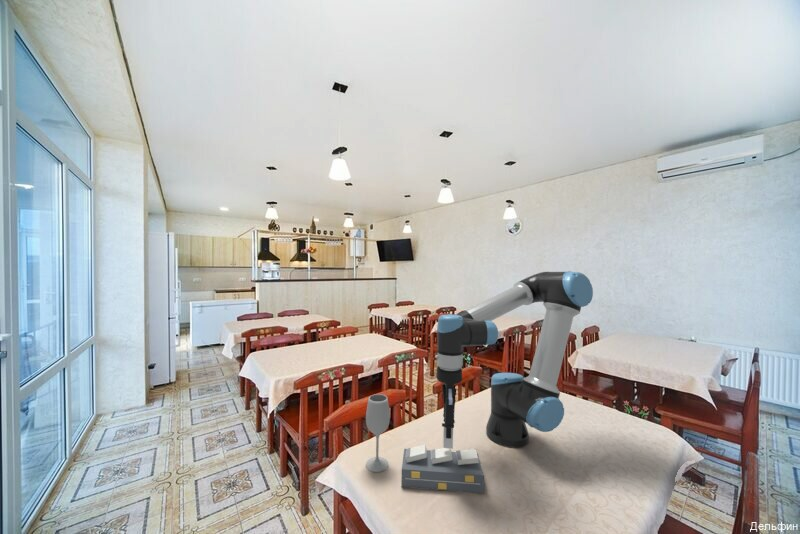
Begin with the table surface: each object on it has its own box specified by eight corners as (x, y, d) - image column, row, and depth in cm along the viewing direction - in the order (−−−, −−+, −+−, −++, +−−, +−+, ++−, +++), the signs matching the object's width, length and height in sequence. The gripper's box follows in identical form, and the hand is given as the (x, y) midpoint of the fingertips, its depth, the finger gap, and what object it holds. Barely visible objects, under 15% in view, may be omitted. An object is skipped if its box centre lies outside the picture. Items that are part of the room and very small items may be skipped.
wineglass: (365, 457, 97) (366, 393, 98) (388, 456, 98) (389, 392, 98) (364, 473, 90) (365, 403, 90) (389, 472, 90) (390, 402, 91)
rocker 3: (476, 453, 89) (475, 448, 89) (478, 462, 85) (478, 457, 85) (456, 455, 90) (455, 450, 90) (458, 464, 86) (457, 459, 86)
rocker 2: (451, 451, 90) (450, 446, 90) (452, 460, 86) (451, 454, 86) (432, 454, 91) (430, 449, 91) (432, 464, 86) (431, 458, 86)
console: (477, 469, 92) (477, 453, 92) (484, 494, 82) (484, 475, 82) (404, 464, 94) (404, 448, 94) (401, 487, 84) (401, 469, 84)
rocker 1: (426, 448, 91) (425, 444, 91) (426, 457, 86) (425, 452, 86) (407, 453, 91) (406, 448, 91) (407, 462, 87) (405, 457, 87)
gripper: (436, 360, 95) (434, 434, 95) (437, 373, 83) (436, 459, 82) (459, 361, 95) (458, 436, 94) (464, 374, 82) (463, 461, 81)
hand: (447, 446), depth 88 cm, fingers closed
